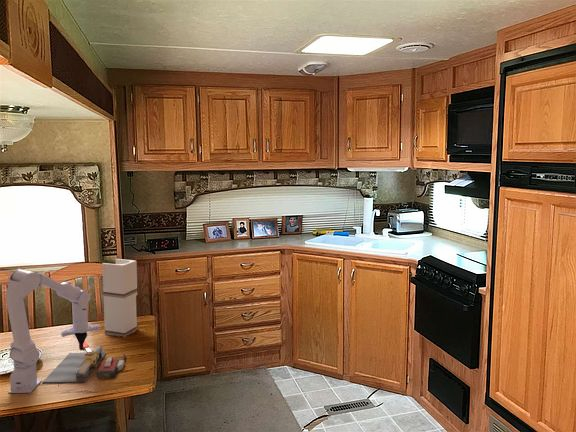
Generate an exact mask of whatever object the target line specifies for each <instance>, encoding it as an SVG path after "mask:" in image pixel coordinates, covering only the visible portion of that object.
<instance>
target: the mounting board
mask: <svg viewBox="0 0 576 432" xmlns="http://www.w3.org/2000/svg"><path fill="white" fill-rule="evenodd" d="M85 354H87V352H69V353H68V354H67V355H66V357H64V358H63V360H61V362H60V363H58V365H57V366H56V367H55V368H53V370H52V371H51V372H50V374H48V375H47V376H46V377H45V379H44V380H42V384H85V383H86V382H87V380H88V379H89V377H91V375H92V374H93V372H94V370H95V369H96V368H97V367H98V365H99V364H101V362H102V361H103V360H104V359H103V358H105V356H106V355H107V353H106V352H104V356H103V357H102V358H98V360H97V361H96V364H97V366H96V367H94V368H91V369H89V376H88V377H87V378H76V371H77V370H78V369H79V368H80V367H81V366H82V362H83V361H84V360H85V357H84V355H85Z"/></svg>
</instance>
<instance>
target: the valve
mask: <svg viewBox="0 0 576 432" xmlns="http://www.w3.org/2000/svg"><path fill="white" fill-rule="evenodd" d="M93 351H94V354H93V355H87V354H85V355H84V357H85V360H84V361H83V362H82V366H81V367H80V368H79V369H78V370H77V371H76V378H87V377H88V376H89V369H91V368H94V367H96V366H97V367H98V365H97V364H96V361H97V360H98V358H102V357H103V356H104V353H105V350H104V348H103V346H101V345H98V346H96V347H95V349H94V350H93ZM104 357H105V356H104ZM104 357H103V358H104ZM97 367H96V368H97ZM89 377H90V376H89ZM89 377H88V378H89Z"/></svg>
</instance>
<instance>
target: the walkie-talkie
mask: <svg viewBox="0 0 576 432" xmlns="http://www.w3.org/2000/svg"><path fill="white" fill-rule="evenodd" d="M125 358H126V353H123V355H122V356H121V359H119V358H114V357H107V358H104V359H102V360H101V362H100V365H99V366H98V369H97V373H96V375H97V377H96V378H98V379H103V378H104V379H105V378H114V377H116V373H117V372H119V371H121V370H123V369H124V366H125Z"/></svg>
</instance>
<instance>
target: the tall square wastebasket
mask: <svg viewBox="0 0 576 432" xmlns="http://www.w3.org/2000/svg"><path fill="white" fill-rule="evenodd" d="M137 263H138V262H137V260H133V259H122V258H115V263H109V262H108V263H105V262H102V266H101V267H102V268H101V269H102V292H103V316H104V320H103V321H104V323H103V324H104V334H105V335H107V334H108V335H109V336H114V335H116V336H115V337H120V336H123V337H122V338H126V337H128V336H129V334H130V333H131V334H133V333H134V332H133V331H135V330H136V329H138V330H139V325H138V320H137V296H138V271H137V270H138V266H137V265H138V264H137ZM132 332H133V333H132ZM135 332H136V331H135ZM131 334H130V335H131ZM127 335H128V336H127ZM125 336H126V337H125Z"/></svg>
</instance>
